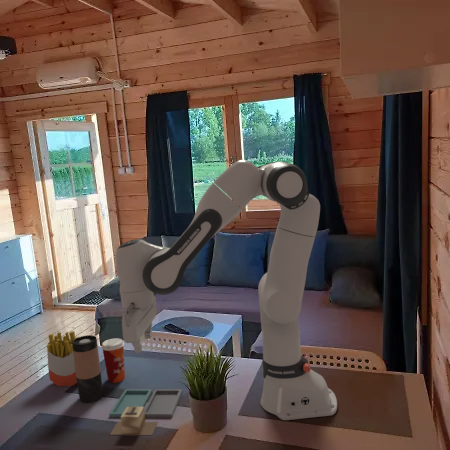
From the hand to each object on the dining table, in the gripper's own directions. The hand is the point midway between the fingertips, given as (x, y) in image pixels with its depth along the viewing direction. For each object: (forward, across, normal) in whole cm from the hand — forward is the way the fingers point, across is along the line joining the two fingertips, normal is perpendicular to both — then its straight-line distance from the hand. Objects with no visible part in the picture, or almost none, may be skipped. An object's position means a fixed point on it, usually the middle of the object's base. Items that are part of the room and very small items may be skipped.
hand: (143, 344), depth 125 cm
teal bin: (+23, +8, +9) cm, 26 cm away
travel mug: (+23, +12, +24) cm, 35 cm away
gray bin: (+23, +8, -1) cm, 24 cm away
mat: (+23, -5, +4) cm, 24 cm away
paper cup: (+23, +24, +20) cm, 39 cm away
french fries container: (+22, +22, +37) cm, 48 cm away
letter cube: (+22, -5, +4) cm, 23 cm away
